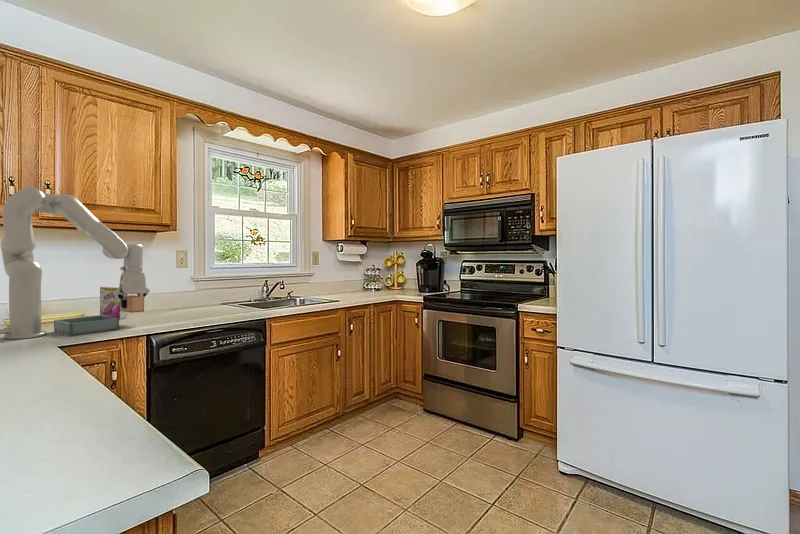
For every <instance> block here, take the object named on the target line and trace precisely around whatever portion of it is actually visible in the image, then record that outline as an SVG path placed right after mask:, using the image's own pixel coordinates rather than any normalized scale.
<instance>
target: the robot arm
mask: <svg viewBox="0 0 800 534" xmlns="http://www.w3.org/2000/svg"><path fill="white" fill-rule="evenodd" d="M1 212H2V213H1V214H2V222H3V223H2V224H3V225H2V226H3V234H4V235H3V237H2V238H1V240H0V249H1V254H2V255H1V256H2V260H3V261H2V262H3V267H4V272H5V273H6V275H7V276H8V279H9V280H8V309H9V310H8V311H9V312H8V314H9V315H8V316H9V321H8V322H9V325H6V327H4V328H0V335H4V337H3V338H4V339H7V340H20V339H21V340H22V339H24V340H25V339H30V338H31V339H33V338H38V337H42V336H43V337H44V336H46V335H47V331H46V330H43V329H42V278H43V270H42V266H41V265H40V264H39V262H38V261H36V260H35V257H34V250H35V249H36V246H37V245H36V239H35V233H34V228H33V214H34V212H37V213H38V212H39V213H45V214H51V215H58V216H59V215H60V216H63V217H64V218H65V219H66V220H67V221H68V222H70V223H71V225H73V226H74V227H75V228H76V229H77V230H78V231H79V232H80V233H81V234H83V235H84V236H86V237H88V238H91V239H92V240H93V241H95V242H96V243H98V244H99V245H100V246H102V250H101V251H102V254H103V255H104V256H105V257H106V258H108V259H114V260H115V259H116V260H121V259H123V265H122V266H121V267H120V268H119V269H120V271H122V272H121V275H120V279H119V283H118V284H119V286H117V287H118V288H117V289H116V290H115V291H114V294H116V295H117V296H118V297H119V298H120V299H121V307H122V308H127V300H126V297H127V296H129V295H135V294H136V296H142V297H144V298H145V297H147V296H148V294H149V293H150V291H151V290H150V289H149V288H148V287H147V281H146V280H147V279H146V275H145V272H143V263H144V261H143V256H144V254H143V253H144V247H143V245H142V244H140V243H125V242H124V241H123V239H121V238H120V237H119V236H118V235H117V234H116V233H115V232H114V231H113V230H111V229H110V228H109V227H108V226H106V225H105V224H104V223H103V222H102V221H100V220H99V219H98V218H97V217H96V216H95V215H94V214H93V213H92V212H91V211H90V210H89V209H88V208H87V207H86V206H85V205H84V204H83V203H82V202H81V201H80V200H79V199H78V198H77V197H76V196H74V195H71V194H68V193H66V194H65V193H64V194H60V195H59V194H53V193H46V192H43V191H42V190H41V189H39V188H37V187H25V188H22V189H20V190H18V191H16V192H14V193H13V194H11V196H9V197H8V198H7V200H6V201H5V203H4V205H3V208H2V211H1ZM119 292H120V293H122V295H121V294H120V293H119Z"/></svg>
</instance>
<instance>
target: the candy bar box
mask: <svg viewBox="0 0 800 534" xmlns="http://www.w3.org/2000/svg"><path fill="white" fill-rule="evenodd" d="M118 287H119V286H111V285H109V286H100V287H99V315H105V316H109V317H114V318H119V321H121V320H124V319H127V315H128V314H127V313H128V312H124V311H120V298H119V297H118V296H117V295H116V294H114V291H115V290H116V289H117V288H118ZM119 293H120V292H119ZM120 294H121V295H122V293H120Z"/></svg>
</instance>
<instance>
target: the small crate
mask: <svg viewBox="0 0 800 534" xmlns="http://www.w3.org/2000/svg"><path fill="white" fill-rule="evenodd" d="M126 300H127V308H122V307H121V299H120V311H124V312H127V313H143V312H145V297H142V296H138V295H135V294H129V295H127V297H126Z"/></svg>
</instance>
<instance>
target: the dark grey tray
mask: <svg viewBox="0 0 800 534" xmlns="http://www.w3.org/2000/svg"><path fill="white" fill-rule="evenodd" d="M53 325H54V327H53V332H54V331H55V332H54V333H57V332H59V333H58V334H60V333H63V334H62V335H64V334H66V335H65V336H67V335H69V336H68V337H75V336H76V337H77V336H82V334H83V335H89V334H97V333H98V334H99V333H104V332H105V333H106V332H110V331H111V332H112V331H119V330H120V320H119V318H114V317H109V316H105V315H100V314H98V315H91V316H80V317H72V318H62V319H61V318H60V319H54V320H53Z"/></svg>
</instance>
